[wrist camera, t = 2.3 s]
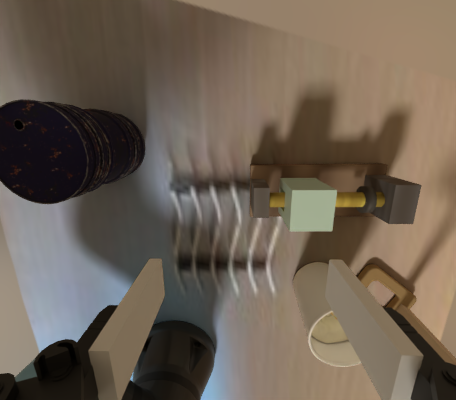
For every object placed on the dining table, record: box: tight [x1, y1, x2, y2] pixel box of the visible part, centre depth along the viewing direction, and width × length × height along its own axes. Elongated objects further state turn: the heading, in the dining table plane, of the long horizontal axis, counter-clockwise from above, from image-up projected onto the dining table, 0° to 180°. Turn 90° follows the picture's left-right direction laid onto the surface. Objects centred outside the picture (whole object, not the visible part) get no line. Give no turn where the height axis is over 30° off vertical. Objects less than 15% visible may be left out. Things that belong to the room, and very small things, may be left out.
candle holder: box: [293, 262, 361, 367], centre depth 37 cm, size 10×10×12 cm
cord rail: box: [250, 164, 421, 224], centre depth 34 cm, size 20×8×8 cm, turn 91°
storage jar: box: [0, 100, 145, 204], centre depth 29 cm, size 10×10×15 cm
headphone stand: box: [357, 264, 456, 365], centre depth 32 cm, size 10×11×22 cm
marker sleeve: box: [278, 178, 337, 231], centre depth 31 cm, size 5×5×7 cm
